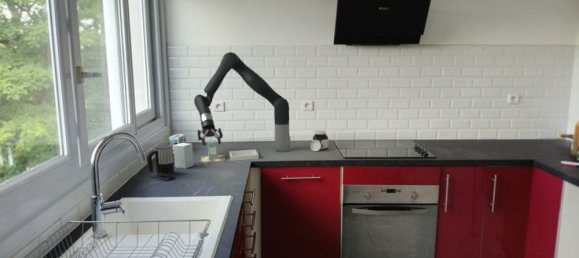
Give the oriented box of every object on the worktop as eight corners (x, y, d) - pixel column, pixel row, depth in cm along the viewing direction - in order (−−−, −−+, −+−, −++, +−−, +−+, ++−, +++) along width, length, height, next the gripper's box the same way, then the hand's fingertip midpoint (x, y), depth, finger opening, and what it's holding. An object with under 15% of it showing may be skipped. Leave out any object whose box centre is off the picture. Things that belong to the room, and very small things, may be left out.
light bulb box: (179, 154, 264) (178, 137, 262) (169, 153, 265) (168, 136, 263) (187, 150, 274) (186, 134, 272) (177, 150, 276) (176, 133, 274)
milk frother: (166, 170, 225) (164, 143, 223) (187, 174, 217) (186, 146, 215) (145, 177, 213) (142, 148, 211) (166, 181, 205) (164, 152, 203)
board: (224, 156, 255) (224, 154, 255) (225, 161, 242) (225, 160, 241) (200, 157, 252) (200, 156, 252) (200, 163, 239) (200, 161, 239)
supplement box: (194, 165, 235) (192, 143, 233) (185, 168, 228) (184, 146, 226) (183, 164, 238) (182, 142, 236) (174, 167, 231) (173, 145, 229)
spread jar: (327, 147, 274) (327, 130, 272) (329, 151, 263) (329, 133, 261) (309, 148, 274) (309, 130, 272) (310, 152, 262) (310, 133, 260)
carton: (216, 156, 250) (216, 140, 248) (217, 158, 245) (216, 142, 243) (208, 157, 249) (207, 141, 247) (209, 159, 244) (208, 142, 242)
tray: (255, 154, 259) (255, 149, 258) (258, 159, 245) (258, 154, 245) (229, 156, 256) (229, 151, 255) (231, 161, 242) (230, 156, 242)
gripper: (195, 119, 249) (200, 142, 240) (219, 117, 254) (225, 139, 246) (194, 127, 255) (199, 149, 246) (218, 125, 260) (223, 146, 251)
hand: (212, 144), depth 246 cm, fingers open, 8 cm apart
